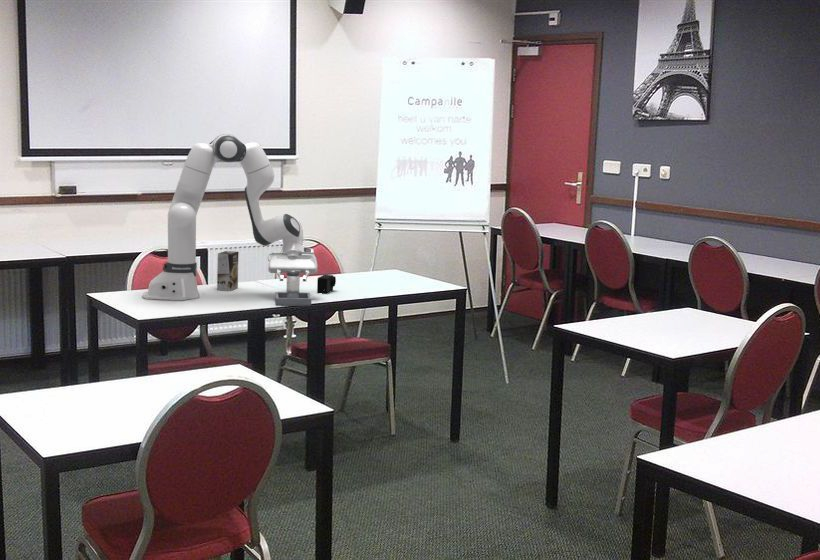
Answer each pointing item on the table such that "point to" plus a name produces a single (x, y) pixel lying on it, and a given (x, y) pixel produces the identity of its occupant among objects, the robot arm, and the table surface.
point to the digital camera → (325, 283)
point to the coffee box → (227, 270)
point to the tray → (293, 299)
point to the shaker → (293, 283)
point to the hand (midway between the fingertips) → (293, 280)
